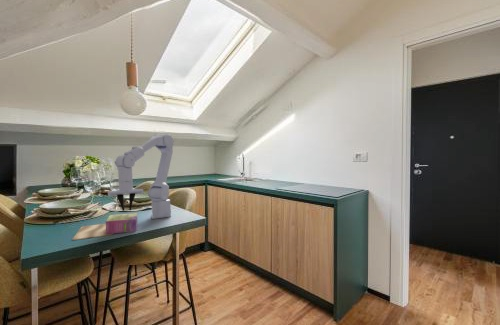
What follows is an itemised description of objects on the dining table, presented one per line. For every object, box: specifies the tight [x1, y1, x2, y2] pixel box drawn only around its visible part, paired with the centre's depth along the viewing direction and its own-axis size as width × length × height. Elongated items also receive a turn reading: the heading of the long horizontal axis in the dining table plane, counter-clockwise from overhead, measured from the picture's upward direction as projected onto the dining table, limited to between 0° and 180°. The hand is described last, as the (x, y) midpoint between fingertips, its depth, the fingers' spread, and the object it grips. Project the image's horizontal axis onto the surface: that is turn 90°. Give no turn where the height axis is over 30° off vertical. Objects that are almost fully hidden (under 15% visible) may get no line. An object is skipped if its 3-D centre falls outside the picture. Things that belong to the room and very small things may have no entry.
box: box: [105, 212, 138, 234], centre depth 112 cm, size 10×6×12 cm
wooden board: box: [71, 223, 113, 241], centre depth 110 cm, size 14×18×1 cm
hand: (126, 210), depth 115 cm, fingers open, 2 cm apart
